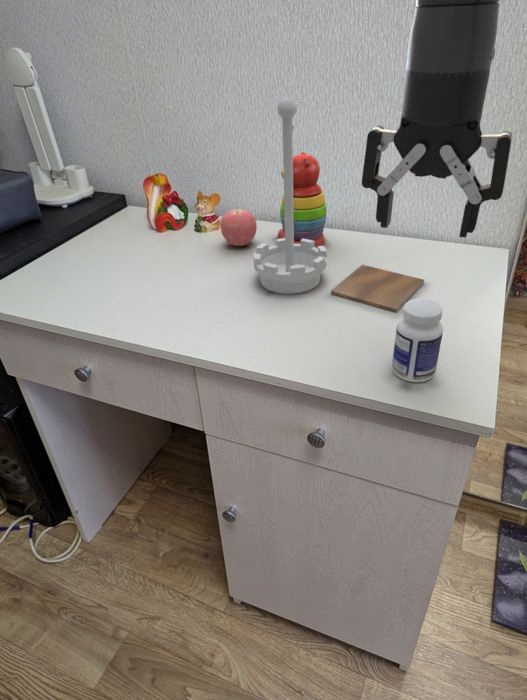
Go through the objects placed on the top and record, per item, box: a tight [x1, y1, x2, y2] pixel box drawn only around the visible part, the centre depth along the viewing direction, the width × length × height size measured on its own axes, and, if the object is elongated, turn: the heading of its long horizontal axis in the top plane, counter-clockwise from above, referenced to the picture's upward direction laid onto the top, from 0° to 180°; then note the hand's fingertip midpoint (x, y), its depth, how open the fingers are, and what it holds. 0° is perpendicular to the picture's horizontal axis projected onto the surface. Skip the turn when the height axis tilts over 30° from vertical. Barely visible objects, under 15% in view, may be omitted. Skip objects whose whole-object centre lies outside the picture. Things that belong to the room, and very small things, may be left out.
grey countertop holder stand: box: [252, 97, 328, 295], centre depth 82 cm, size 13×13×30 cm
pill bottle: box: [391, 298, 444, 383], centre depth 64 cm, size 6×6×10 cm
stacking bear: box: [277, 151, 328, 248], centre depth 98 cm, size 11×10×18 cm
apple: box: [219, 208, 258, 247], centre depth 102 cm, size 7×7×8 cm
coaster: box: [330, 264, 425, 313], centre depth 86 cm, size 12×12×1 cm
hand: (423, 230), depth 55 cm, fingers open, 8 cm apart
